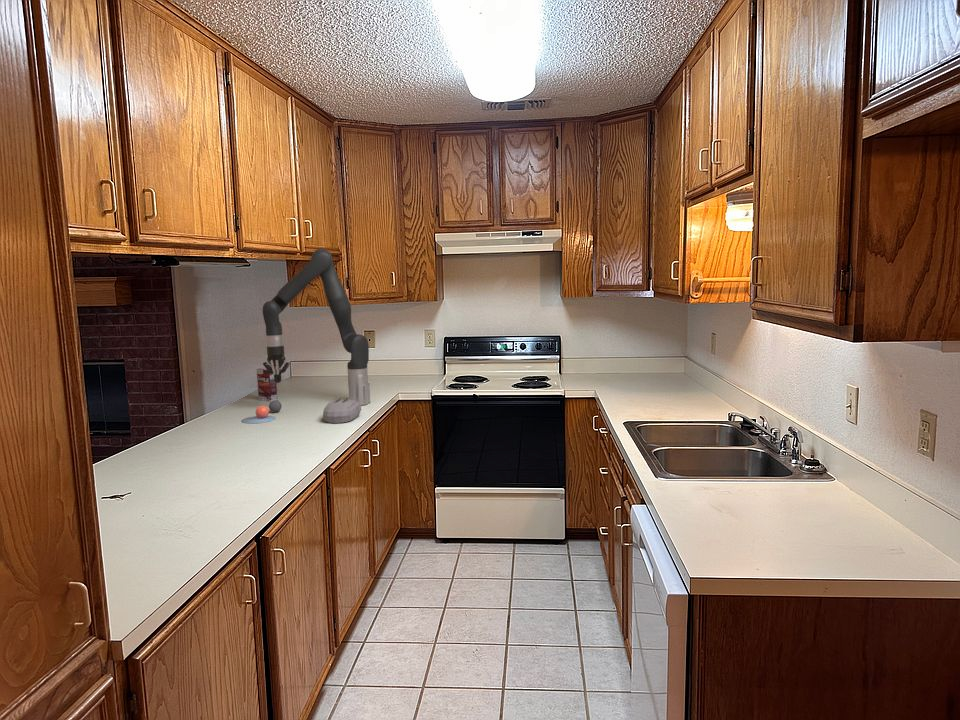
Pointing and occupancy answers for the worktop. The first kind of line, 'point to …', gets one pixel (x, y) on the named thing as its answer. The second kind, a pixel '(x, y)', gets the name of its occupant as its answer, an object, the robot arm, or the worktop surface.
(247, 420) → the blue flat disc
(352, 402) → the soft grey pack
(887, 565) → the worktop surface
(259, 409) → the red ball
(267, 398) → the supplement box
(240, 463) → the worktop surface
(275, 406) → the grey smooth round ball
